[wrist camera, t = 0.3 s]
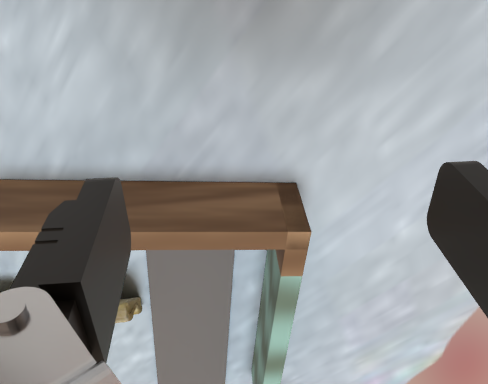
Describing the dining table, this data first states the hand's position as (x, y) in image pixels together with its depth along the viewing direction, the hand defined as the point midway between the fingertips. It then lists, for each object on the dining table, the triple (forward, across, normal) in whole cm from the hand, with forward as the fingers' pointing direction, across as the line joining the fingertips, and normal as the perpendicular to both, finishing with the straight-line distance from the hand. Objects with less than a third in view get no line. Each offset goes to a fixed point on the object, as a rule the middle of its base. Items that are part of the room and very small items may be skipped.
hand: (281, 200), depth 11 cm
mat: (+18, +5, +24) cm, 31 cm away
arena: (+18, +7, +22) cm, 29 cm away
